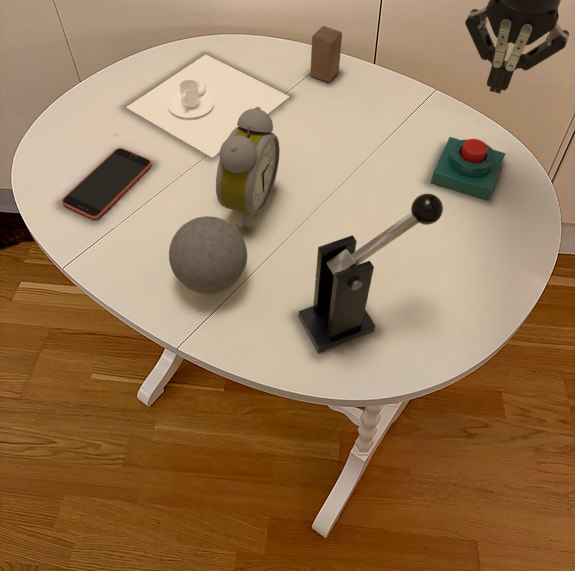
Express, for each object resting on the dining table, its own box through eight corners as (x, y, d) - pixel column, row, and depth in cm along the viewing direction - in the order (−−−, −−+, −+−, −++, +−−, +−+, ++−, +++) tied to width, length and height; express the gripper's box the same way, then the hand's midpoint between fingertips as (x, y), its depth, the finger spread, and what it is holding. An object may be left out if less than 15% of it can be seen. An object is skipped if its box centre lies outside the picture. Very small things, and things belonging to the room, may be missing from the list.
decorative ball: (163, 266, 82) (151, 216, 74) (229, 240, 85) (224, 190, 77) (192, 320, 77) (182, 273, 69) (261, 290, 80) (259, 242, 72)
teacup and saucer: (193, 82, 106) (190, 62, 103) (227, 100, 103) (225, 80, 100) (158, 107, 102) (154, 86, 99) (191, 126, 99) (188, 106, 96)
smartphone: (154, 161, 93) (95, 219, 86) (154, 163, 94) (96, 221, 87) (118, 146, 95) (58, 201, 88) (119, 148, 96) (59, 204, 88)
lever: (435, 197, 67) (428, 182, 65) (451, 217, 66) (445, 203, 63) (332, 268, 70) (321, 256, 67) (346, 290, 68) (335, 279, 65)
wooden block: (328, 83, 106) (331, 42, 100) (309, 76, 108) (311, 35, 101) (339, 72, 108) (343, 31, 102) (320, 65, 110) (323, 24, 103)
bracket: (352, 295, 80) (364, 226, 68) (374, 330, 76) (390, 264, 65) (298, 316, 78) (301, 248, 66) (318, 353, 74) (325, 288, 63)
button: (487, 151, 91) (490, 142, 90) (481, 166, 89) (484, 157, 88) (464, 144, 92) (466, 135, 90) (457, 159, 90) (460, 150, 89)
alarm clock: (252, 239, 85) (248, 160, 73) (209, 227, 86) (197, 147, 74) (280, 185, 92) (281, 103, 79) (239, 174, 93) (233, 92, 81)
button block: (501, 163, 95) (509, 144, 92) (487, 200, 90) (495, 181, 87) (446, 147, 97) (452, 127, 94) (430, 182, 92) (435, 163, 89)
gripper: (474, -41, 67) (441, 91, 81) (596, -15, 63) (539, 118, 77) (490, -69, 71) (456, 62, 85) (606, -45, 67) (550, 86, 81)
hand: (496, 89), depth 81 cm, fingers closed
